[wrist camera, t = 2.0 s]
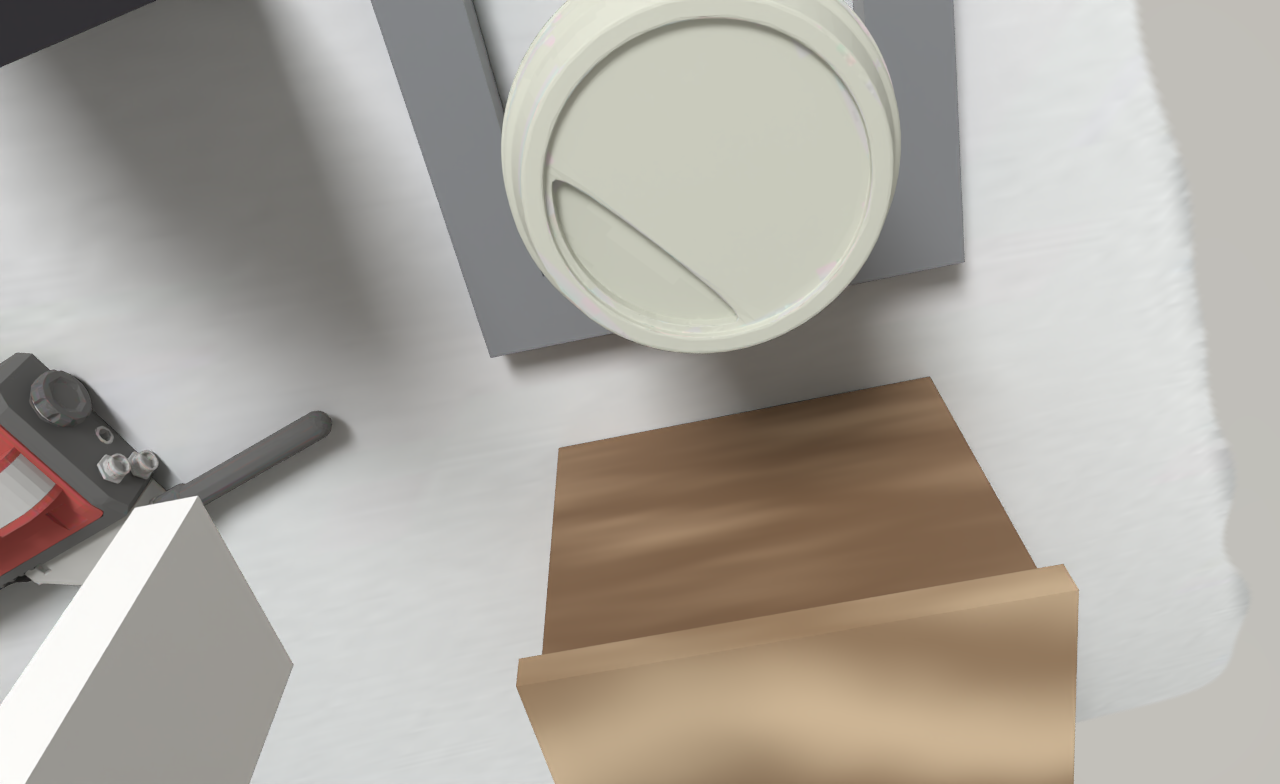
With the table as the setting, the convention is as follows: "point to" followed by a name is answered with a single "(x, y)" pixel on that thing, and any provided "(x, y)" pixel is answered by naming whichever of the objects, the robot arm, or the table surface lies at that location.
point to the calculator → (52, 22)
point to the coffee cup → (701, 163)
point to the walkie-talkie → (90, 474)
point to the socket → (476, 196)
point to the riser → (799, 607)
